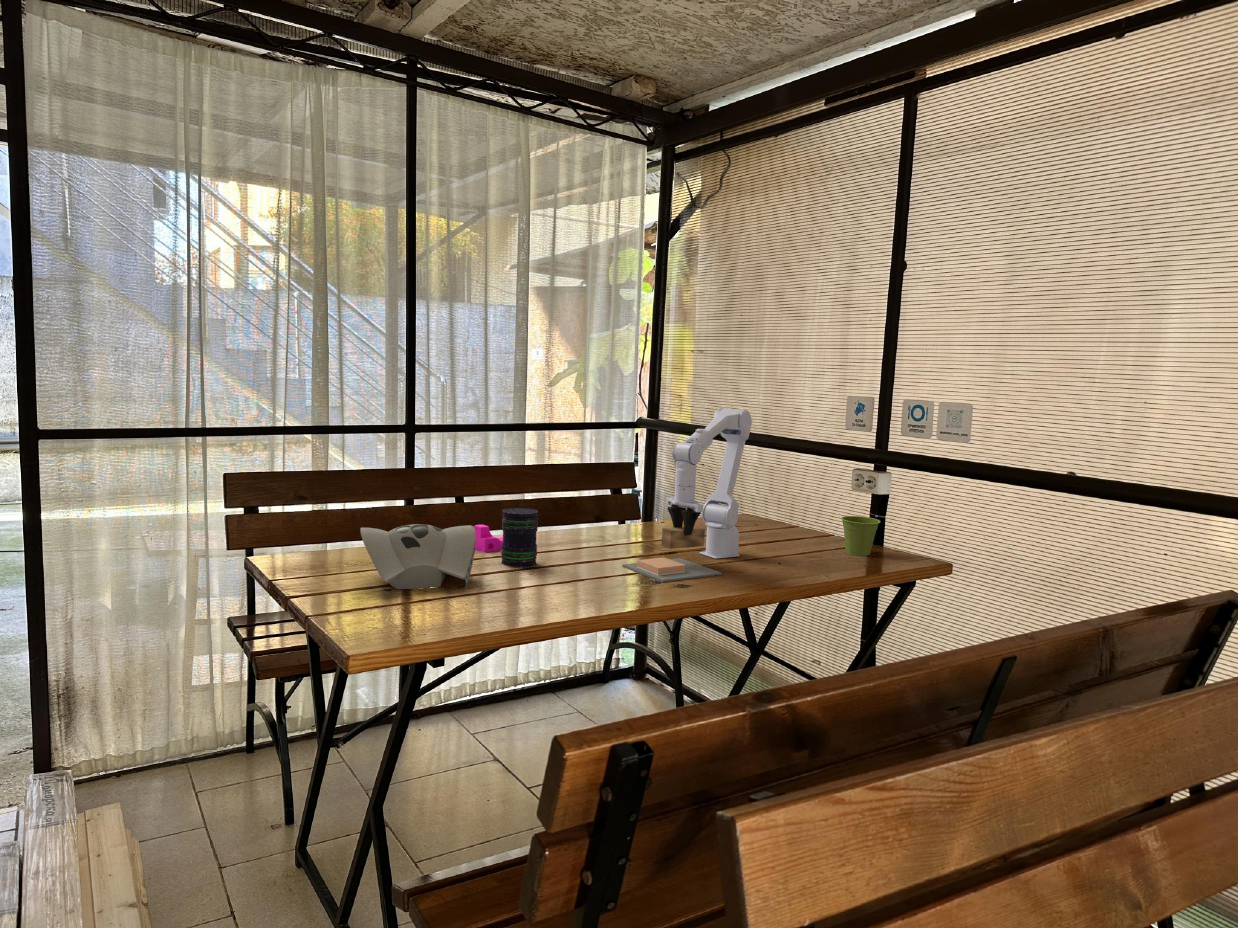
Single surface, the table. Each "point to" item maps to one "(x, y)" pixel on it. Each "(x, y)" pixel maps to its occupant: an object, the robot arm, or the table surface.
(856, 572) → the table surface
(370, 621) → the table surface
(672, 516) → the robot arm
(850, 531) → the plant pot
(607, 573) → the table surface
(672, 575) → the slate mat
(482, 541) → the toy block
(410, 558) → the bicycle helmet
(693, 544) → the brown wooden block
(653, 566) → the tile
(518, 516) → the storage jar
